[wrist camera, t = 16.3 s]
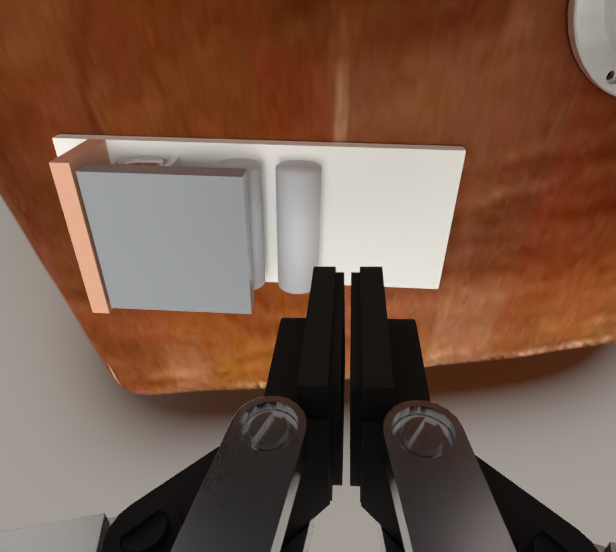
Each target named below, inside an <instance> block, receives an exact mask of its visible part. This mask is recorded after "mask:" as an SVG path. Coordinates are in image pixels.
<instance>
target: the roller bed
mask: <svg viewBox="0 0 616 552" xmlns="http://www.w3.org/2000/svg"><path fill="white" fill-rule="evenodd" d="M52 139H53V143H54V146H55V150H56V153H57V158H55V159H54V160H52V161H50V162H49V165H50V168H51V172H52V175H53V178H54V182H55V185H56V189H57V192H58V195H59V199H60V202H61V206H62V209H63V213H64V216H65V219H66V223H67V226H68V230H69V233H70V236H71V240H72V243H73V247H74V250H75V253H76V257H77V260H78V264H79V267H80V270H81V274H82V277H83V281H84V284H85V288H86V291H87V294H88V298H89V301H90V305H91V308H92V311H93V313H110V312H111V310H112V309H113V308H112V307H111V304H110V300H109V296H108V292H107V288H106V285H105V281H104V277H103V273H102V269H101V266H100V262H99V258H98V254H97V251H96V247H95V243H94V239H93V235H92V232H91V228H90V224H89V220H88V216H87V213H86V209H85V205H84V201H83V198H82V194H81V190H80V186H79V182H78V179H77V175H76V171H77V170H79V169H80V168H81V167H83V166H84V165H86V164H87V163H90V164H115V162H116V161H118V160H120V159H122V158H125V157H129V156H135V155H154V156H158V157H160V158H162V161H163V166H182V167H213V168H243V169H247V176H248V194H249V211H250V228H251V246H252V263H253V280H254V290H256V289H258V288H260V287H262V286H263V285H264V283H265V282H278V285H279V287H280V288H281V289H282V290H283V291H285V292H288V293H292V294H304V293H308V292H310V289H311V282H312V274H313V268H314V266H321V267H336V272H344V285H351V272H360V267H382V270H383V280H384V287H403V288H427V289H438V288H439V283H440V278H441V273H442V268H443V263H444V258H445V253H446V248H447V243H448V238H449V233H450V228H451V223H452V218H453V213H454V208H455V203H456V198H457V193H458V188H459V183H460V178H461V173H462V168H463V163H464V158H465V153H466V150H465V149H464V147H463V146H438V145H405V144H372V143H339V142H306V141H273V140H240V139H207V138H173V137H140V136H107V135H74V134H59V135H57V136H55V137H53V138H52Z"/></svg>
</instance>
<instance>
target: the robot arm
mask: <svg viewBox="0 0 616 552" xmlns="http://www.w3.org/2000/svg"><path fill="white" fill-rule="evenodd" d="M568 35H569V39H570V43H571V48H572V52H573V55H574V57H575V59H576V61H577V63H578V65H579V67H580V69H581V70H582V72H583V73H584V74H585V75H586V76H587V77H588V79H589V80H590V81H591V82H592V83H593V84H594V85H596V86H597V87H599V88H600V89H602V90H603V91H604V92H606V93H608V94H610V95H613V96H615V97H616V0H569V5H568ZM610 71H611V74H610V76H609V77H608V78H606V77H607V75H608V73H609V72H610ZM344 385H345V299H344V272H336V267H321V266H314V268H313V274H312V282H311V289H310V296H309V303H308V310H307V317H306V318H282V319H281V322H280V326H279V330H278V335H277V340H276V344H275V349H274V353H273V358H272V363H271V367H270V372H269V376H268V381H267V386H266V390H265V395H264V397H260V398H256V399H254V400H252V401H250V402H248V403H246V404H245V405H244V406H243V407H241V408H240V409H239V410H238V411H237V413H236V414H235V416H234V417H233V419H232V420H231V422H230V425H229V427H228V429H227V431H226V433H225V435H224V438H223V440H222V442H221V444H220V446H219V447H217V448H216V449H214V450H213V451H211V452H210V453H208V454H207V455H205V456H204V457H202V458H201V459H199V460H198V461H196V462H195V463H194V464H192V465H190V466H189V467H187V468H186V469H184V470H183V471H181V472H180V473H178V474H177V475H175V476H174V477H172V478H171V479H169V480H168V481H166V482H165V483H164V484H162V485H160V486H159V487H157V488H156V489H154V490H152V491H151V492H149V493H148V494H146V495H145V496H144V497H142V498H141V499H139V500H138V501H136V502H134V503H133V504H132V505H130V506H129V507H128V508H127V509H125V510H124V511H123V512H122V513H120V514H119V515H118V516H117V517H112V518H107V517H106V515H105V513H103V514H97V515H91V516H86V517H80V518H74V519H69V520H63V521H57V522H52V523H46V524H40V525H35V526H29V527H23V528H18V529H12V530H7V531H1V532H0V552H308V550H309V545H310V541H311V536H312V532H313V526H314V517H315V516H317V515H318V514H319V513H320V512H321V511H322V510H323V509H325V508H326V507H327V506H328V505H329V504H330V501H332V486H333V485H342V471H343V427H344V426H343V425H344ZM350 486H360V502H361V506H362V507H363V508H364V509H365V510H366V511H367V512H368V513H369V514H370V515H371V516H372V517H373V518H374V519H375V520H376V521H377V522H378V533H379V539H380V544H381V549H382V552H616V543H612V542H609V544H608V546H607V547H604V546H600V545H596V544H593V543H592V542H591V541H590V540H589V539H588V538H586V536H585V535H583V534H582V533H581V532H580V531H579V530H578V529H576V528H575V527H574V526H572V525H571V524H570V523H568V522H567V521H565V520H564V519H563V518H561V517H560V516H558V515H557V514H556V513H554V512H553V511H552V510H550V509H549V508H547V507H546V506H545V505H543V504H542V503H540V502H539V501H538V500H536V499H535V498H534V497H532V496H531V495H530V494H528V493H527V492H525V491H524V490H522V489H521V488H520V487H518V486H517V485H516V484H514V483H513V482H512V481H510V480H509V479H507V478H506V477H505V476H503V475H502V474H500V473H499V472H498V471H496V470H495V469H494V468H492V467H491V466H490V465H488V464H487V463H485V462H484V461H483V460H481V459H480V458H478V457H477V456H476V455H475V454H474V452H473V449H472V448H471V445H470V442H469V440H468V438H467V435H466V433H465V431H464V429H463V426H462V425H461V423H460V422H459V420H458V419H457V417H456V416H455V415H454V414H452V413H451V412H450V411H449V410H448V409H446V408H444V407H442V406H440V405H438V404H436V403H433V402H430V397H429V392H428V386H427V381H426V375H425V370H424V364H423V359H422V353H421V348H420V342H419V337H418V331H417V326H416V322H415V320H414V319H387V310H386V300H385V290H384V280H383V270H382V267H360V272H351V354H350Z"/></svg>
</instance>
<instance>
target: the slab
mask: <svg viewBox="0 0 616 552" xmlns="http://www.w3.org/2000/svg"><path fill="white" fill-rule="evenodd" d="M76 175H77V179H78V182H79V186H80V190H81V194H82V198H83V201H84V205H85V209H86V213H87V216H88V220H89V224H90V228H91V232H92V235H93V239H94V243H95V247H96V251H97V254H98V258H99V262H100V266H101V269H102V273H103V277H104V281H105V285H106V288H107V292H108V296H109V300H110V304H111V307H112V308H127V309H149V310H172V311H194V312H216V313H239V314H252V310H253V306H254V303H255V298H254V280H253V263H252V246H251V228H250V211H249V194H248V176H247V169H243V168H213V167H182V166H152V165H121V164H90V163H87V164H86V165H84V166H83V167H81V168H80V169H79V170H77V171H76Z"/></svg>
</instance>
